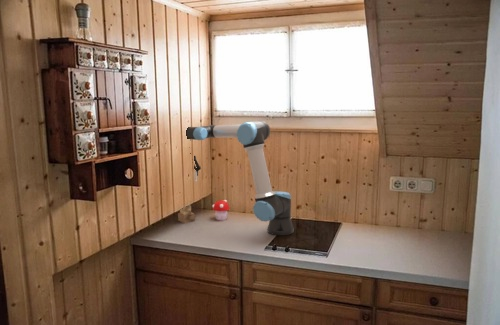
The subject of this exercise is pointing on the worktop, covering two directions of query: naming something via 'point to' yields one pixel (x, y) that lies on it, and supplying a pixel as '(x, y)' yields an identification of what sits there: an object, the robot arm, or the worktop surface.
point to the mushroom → (221, 209)
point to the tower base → (186, 217)
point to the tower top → (186, 210)
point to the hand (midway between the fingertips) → (185, 183)
